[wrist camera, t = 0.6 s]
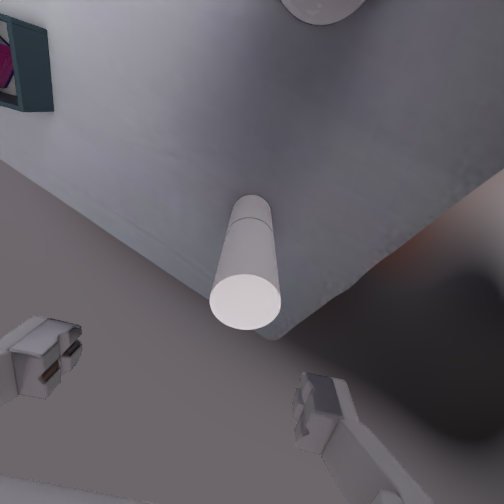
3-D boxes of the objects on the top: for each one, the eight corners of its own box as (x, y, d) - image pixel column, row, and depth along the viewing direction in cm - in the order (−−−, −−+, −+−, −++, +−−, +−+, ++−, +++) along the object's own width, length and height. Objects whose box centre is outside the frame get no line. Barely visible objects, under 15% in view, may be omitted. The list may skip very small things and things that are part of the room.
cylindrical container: (225, 221, 49) (198, 314, 27) (242, 187, 46) (227, 262, 24) (259, 237, 50) (260, 338, 28) (278, 205, 47) (294, 291, 25)
